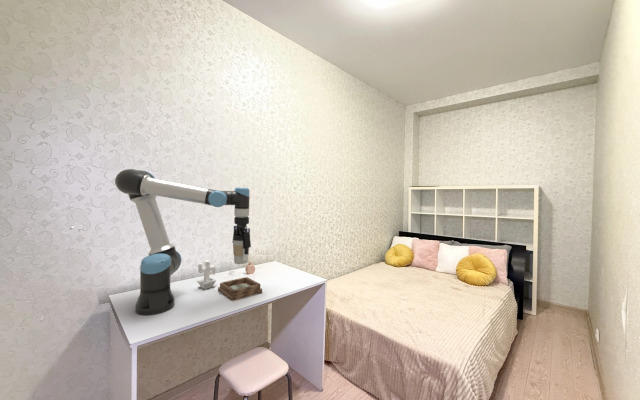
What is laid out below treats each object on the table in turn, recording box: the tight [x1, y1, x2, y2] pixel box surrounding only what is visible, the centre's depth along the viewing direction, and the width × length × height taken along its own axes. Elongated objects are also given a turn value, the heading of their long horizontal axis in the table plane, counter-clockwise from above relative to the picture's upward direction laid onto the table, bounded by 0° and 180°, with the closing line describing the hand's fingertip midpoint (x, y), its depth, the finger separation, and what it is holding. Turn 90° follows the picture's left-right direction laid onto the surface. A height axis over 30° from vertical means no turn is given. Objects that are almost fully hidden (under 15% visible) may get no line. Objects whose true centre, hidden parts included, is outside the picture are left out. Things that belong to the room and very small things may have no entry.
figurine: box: [196, 259, 217, 290], centre depth 146 cm, size 7×9×15 cm
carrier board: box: [217, 276, 263, 302], centre depth 141 cm, size 17×17×4 cm
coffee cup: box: [232, 234, 250, 265], centre depth 140 cm, size 9×9×15 cm
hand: (241, 258), depth 141 cm, fingers closed on coffee cup, 9 cm apart
